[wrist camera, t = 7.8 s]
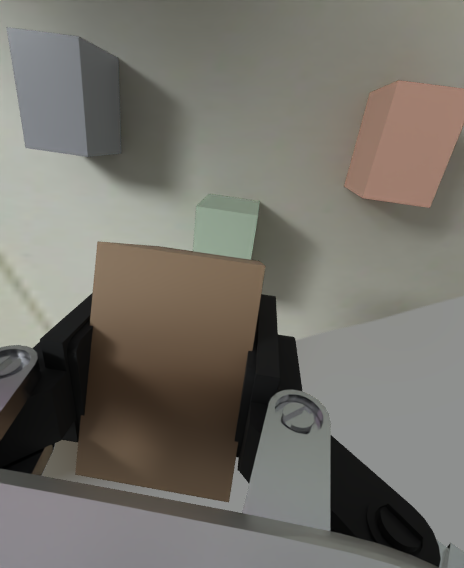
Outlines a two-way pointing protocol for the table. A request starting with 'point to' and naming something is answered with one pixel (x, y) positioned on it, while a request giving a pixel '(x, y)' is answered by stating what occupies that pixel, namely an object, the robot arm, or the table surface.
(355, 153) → the terracotta brick
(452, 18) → the table surface
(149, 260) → the walnut brick
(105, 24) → the table surface
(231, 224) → the sage brick
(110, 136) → the grey toy block
